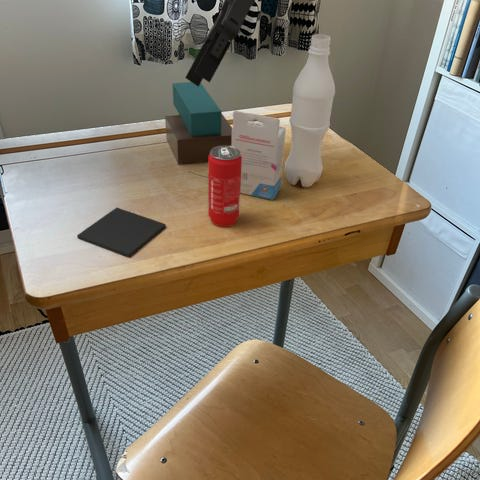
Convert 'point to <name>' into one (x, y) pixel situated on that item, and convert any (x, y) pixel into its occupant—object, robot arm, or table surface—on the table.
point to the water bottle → (310, 114)
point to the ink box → (259, 153)
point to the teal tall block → (197, 109)
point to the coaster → (122, 232)
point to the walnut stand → (194, 140)
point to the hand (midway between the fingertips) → (196, 80)
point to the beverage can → (224, 185)
